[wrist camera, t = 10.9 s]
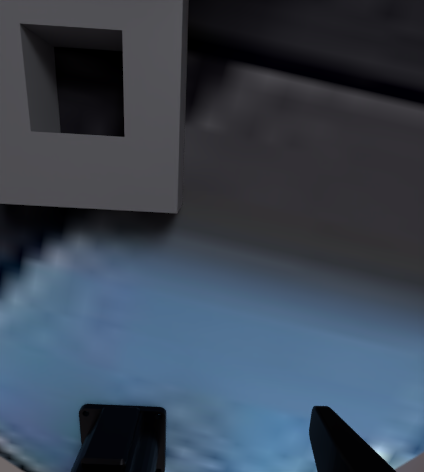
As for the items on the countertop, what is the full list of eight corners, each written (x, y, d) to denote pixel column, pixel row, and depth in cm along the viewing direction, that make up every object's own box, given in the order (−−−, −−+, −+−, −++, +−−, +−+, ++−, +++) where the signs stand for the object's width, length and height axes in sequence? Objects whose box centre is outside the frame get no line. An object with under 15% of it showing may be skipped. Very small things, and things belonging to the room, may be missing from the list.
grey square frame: (182, 204, 18) (177, 213, 16) (21, 195, 18) (-14, 202, 15) (189, -25, 15) (184, -67, 12) (-6, -40, 15) (-57, -85, 12)
